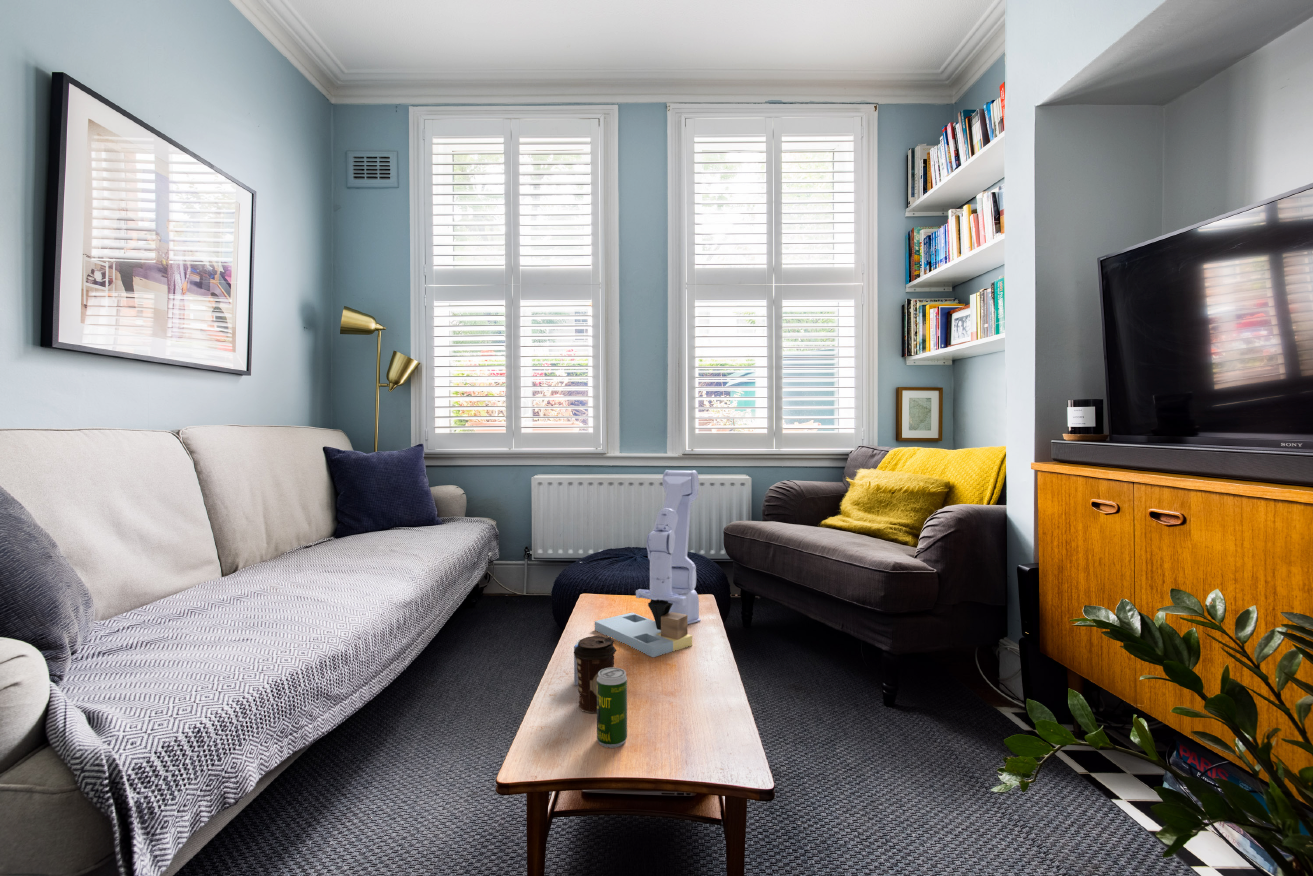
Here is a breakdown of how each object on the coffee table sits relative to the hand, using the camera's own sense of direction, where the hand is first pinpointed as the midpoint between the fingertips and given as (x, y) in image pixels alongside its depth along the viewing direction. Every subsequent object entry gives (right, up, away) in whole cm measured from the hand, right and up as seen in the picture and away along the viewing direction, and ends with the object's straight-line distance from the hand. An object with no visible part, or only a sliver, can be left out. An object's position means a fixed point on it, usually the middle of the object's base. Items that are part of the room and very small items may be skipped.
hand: (660, 628), depth 153 cm
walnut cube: (+3, -1, -2) cm, 4 cm away
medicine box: (-15, -4, -25) cm, 30 cm away
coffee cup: (-13, -4, -37) cm, 39 cm away
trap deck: (-5, -3, +3) cm, 7 cm away
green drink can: (-9, -4, -50) cm, 51 cm away
